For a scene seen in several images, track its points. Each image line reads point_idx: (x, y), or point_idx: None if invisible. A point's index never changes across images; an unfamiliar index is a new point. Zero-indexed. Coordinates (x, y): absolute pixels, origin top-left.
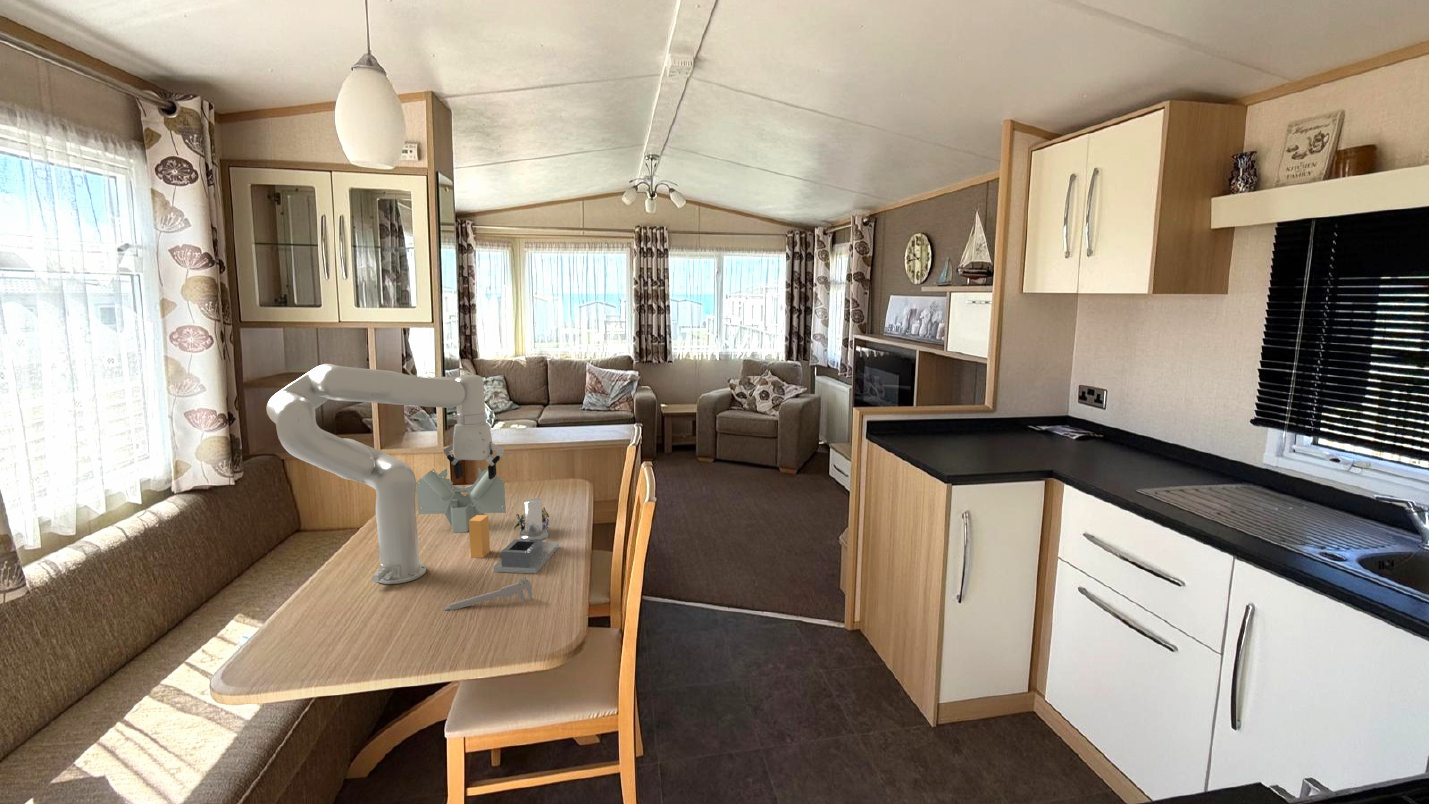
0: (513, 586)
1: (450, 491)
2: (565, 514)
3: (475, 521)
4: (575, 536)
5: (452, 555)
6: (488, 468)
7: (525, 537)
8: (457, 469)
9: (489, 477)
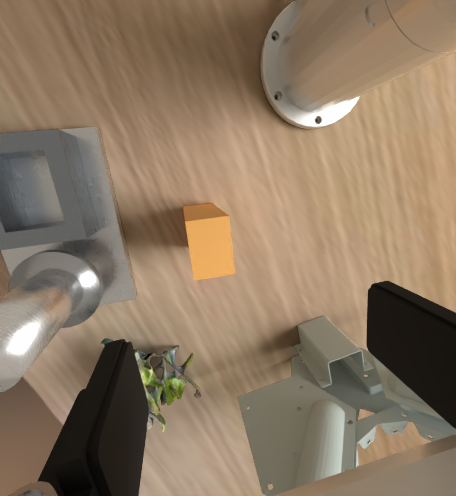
0: None
1: (400, 396)
2: (147, 467)
3: (204, 219)
4: (39, 378)
5: (259, 203)
6: (97, 424)
7: (62, 258)
8: (436, 322)
9: (115, 346)
